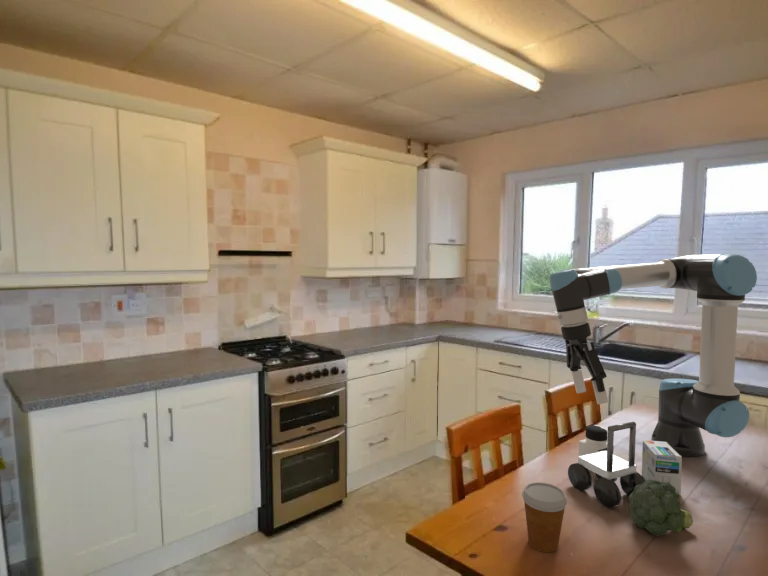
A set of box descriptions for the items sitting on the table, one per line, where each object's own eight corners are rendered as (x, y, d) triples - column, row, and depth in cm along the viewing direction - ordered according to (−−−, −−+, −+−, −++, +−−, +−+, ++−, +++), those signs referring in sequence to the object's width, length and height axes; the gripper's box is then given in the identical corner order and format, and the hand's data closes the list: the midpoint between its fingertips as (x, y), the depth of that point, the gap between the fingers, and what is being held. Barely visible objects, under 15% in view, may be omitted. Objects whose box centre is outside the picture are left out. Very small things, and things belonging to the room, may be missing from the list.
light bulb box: (681, 495, 123) (683, 456, 122) (653, 493, 124) (655, 454, 124) (665, 476, 133) (667, 440, 133) (640, 474, 135) (641, 439, 134)
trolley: (596, 476, 134) (599, 406, 132) (647, 503, 119) (650, 425, 118) (567, 483, 129) (569, 412, 128) (615, 512, 115) (618, 432, 113)
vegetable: (719, 540, 100) (665, 516, 98) (671, 555, 108) (620, 534, 106) (699, 486, 109) (650, 463, 107) (656, 505, 118) (609, 484, 115)
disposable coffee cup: (514, 531, 107) (515, 482, 106) (554, 529, 108) (555, 480, 107) (531, 558, 97) (532, 504, 97) (574, 556, 98) (575, 502, 97)
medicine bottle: (597, 472, 136) (599, 433, 135) (577, 462, 142) (578, 425, 142) (613, 467, 139) (614, 428, 138) (593, 458, 146) (594, 421, 145)
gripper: (546, 324, 142) (561, 391, 142) (579, 330, 117) (598, 411, 117) (569, 318, 142) (585, 385, 142) (608, 323, 117) (627, 405, 117)
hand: (591, 397), depth 129 cm, fingers open, 13 cm apart
